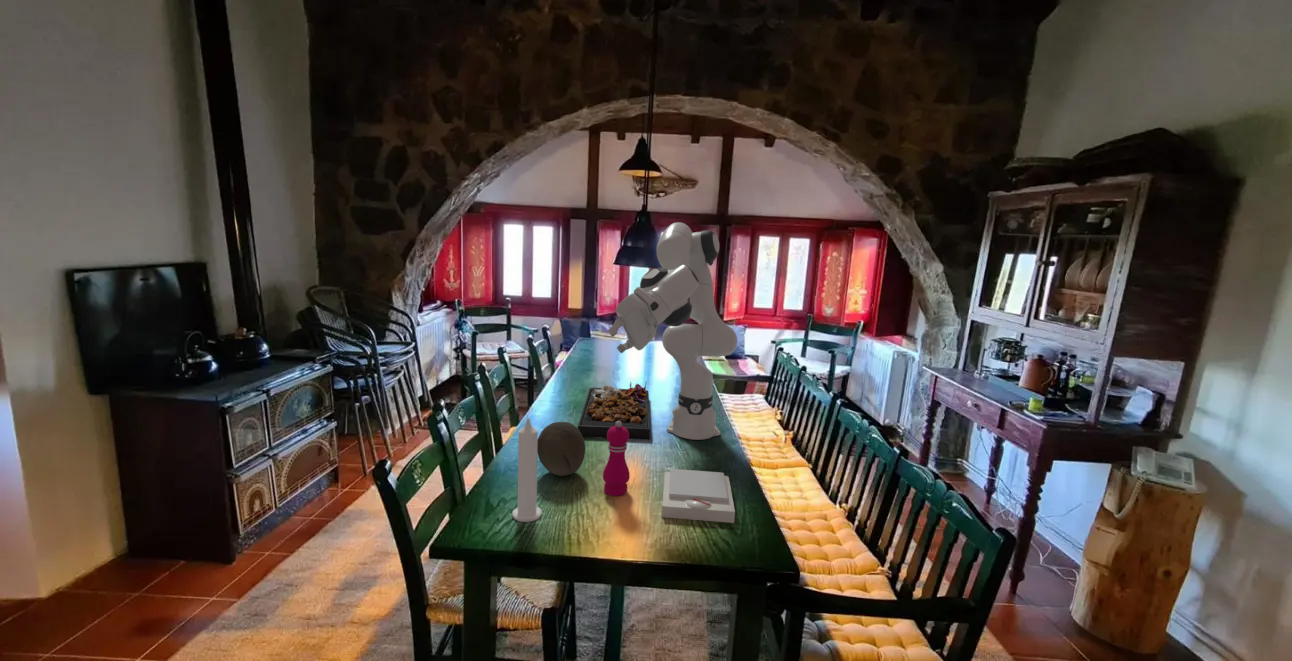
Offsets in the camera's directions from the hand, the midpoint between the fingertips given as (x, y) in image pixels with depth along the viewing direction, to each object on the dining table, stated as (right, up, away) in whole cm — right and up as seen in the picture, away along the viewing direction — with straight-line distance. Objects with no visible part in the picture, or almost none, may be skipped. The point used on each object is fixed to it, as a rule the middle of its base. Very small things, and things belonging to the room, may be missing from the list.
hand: (614, 342), depth 151 cm
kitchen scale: (+22, -42, -2) cm, 48 cm away
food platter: (-3, -30, +60) cm, 67 cm away
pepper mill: (0, -41, +1) cm, 41 cm away
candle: (-21, -42, -14) cm, 49 cm away
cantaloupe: (-16, -38, +10) cm, 42 cm away
